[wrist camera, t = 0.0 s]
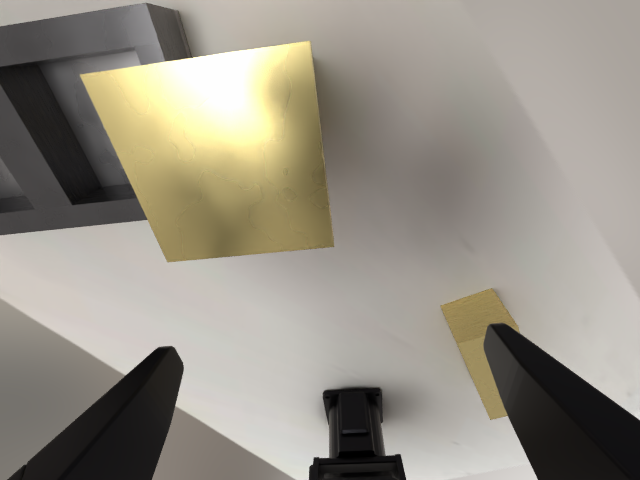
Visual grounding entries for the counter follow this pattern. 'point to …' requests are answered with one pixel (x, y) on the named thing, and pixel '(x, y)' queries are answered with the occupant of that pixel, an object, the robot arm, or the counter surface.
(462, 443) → the counter surface
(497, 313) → the block
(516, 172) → the counter surface
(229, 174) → the brass block
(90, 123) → the compartment tray
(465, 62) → the counter surface
